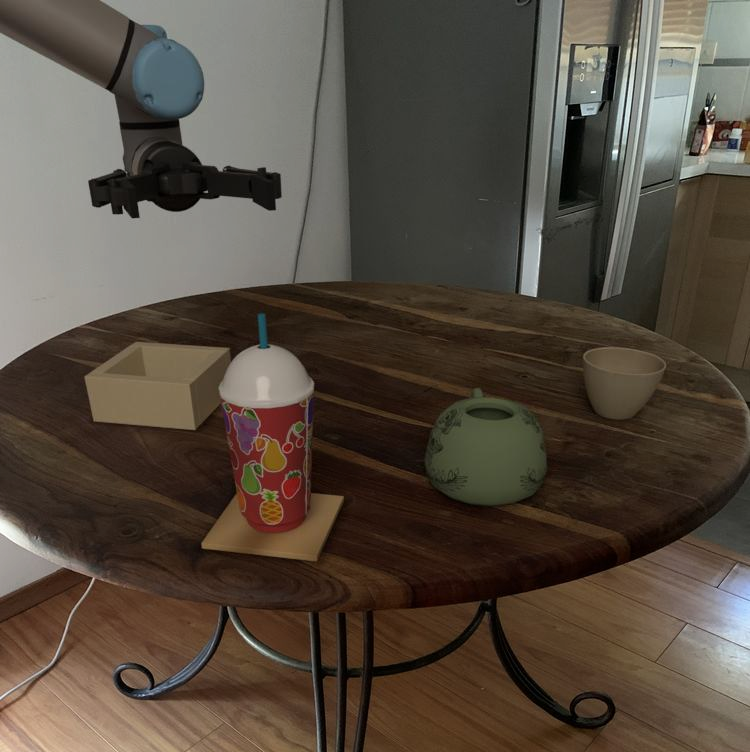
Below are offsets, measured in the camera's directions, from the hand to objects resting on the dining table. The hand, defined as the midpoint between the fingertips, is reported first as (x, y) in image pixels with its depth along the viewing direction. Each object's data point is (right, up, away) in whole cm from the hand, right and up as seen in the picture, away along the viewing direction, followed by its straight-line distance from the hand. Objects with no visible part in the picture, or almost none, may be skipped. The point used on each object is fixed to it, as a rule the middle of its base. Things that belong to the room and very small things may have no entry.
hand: (205, 199), depth 72 cm
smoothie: (+7, -32, -1) cm, 32 cm away
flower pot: (+48, -18, +23) cm, 56 cm away
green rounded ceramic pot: (+28, -27, +8) cm, 40 cm away
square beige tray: (-11, -17, +25) cm, 32 cm away
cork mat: (+7, -32, -1) cm, 33 cm away
